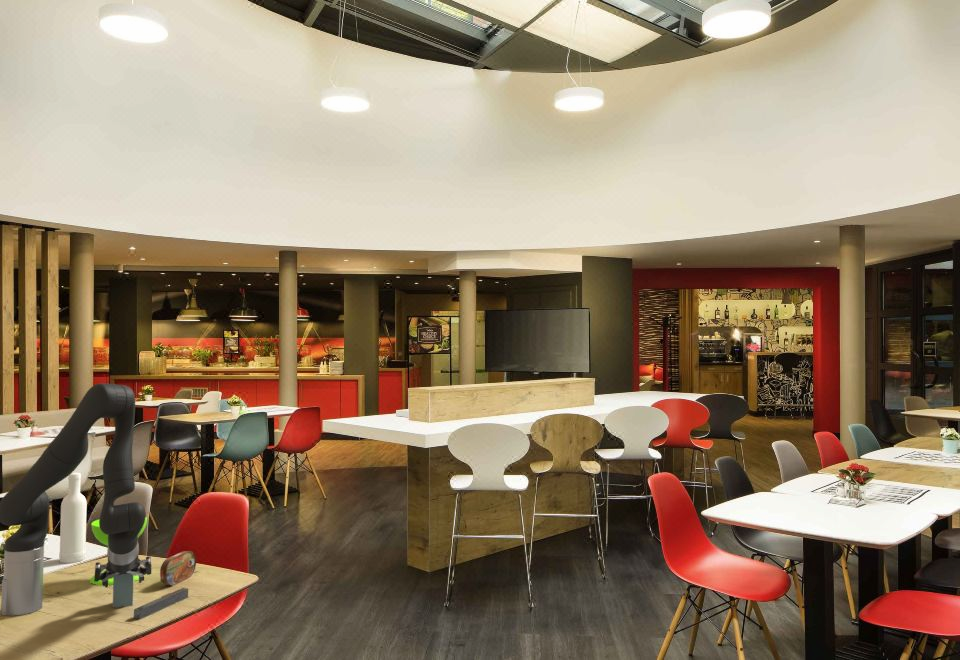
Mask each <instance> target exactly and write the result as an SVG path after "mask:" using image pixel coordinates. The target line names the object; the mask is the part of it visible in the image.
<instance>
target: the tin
mask: <svg viewBox="0 0 960 660" xmlns="http://www.w3.org/2000/svg"><path fill="white" fill-rule="evenodd" d="M196 565H197V558H196V555H195V553H194V552H193V551H191V550H188V551H186V550H185V551H181V552H179V553H176V554H175V555H172V556H170V557H168V558H166V559H164V561H163V562H162V563H161V566H160V568H159V569H160V571H159V572H160V573H159V574H160V575H159V577H160V582H161V583H162V584H163V585H164V586H173V585H174V586H176V585H177V584H178V585H179V583H181V582H183V581H185V580H187V579H189V578H190V577H192V575H193V574H194V573H195V571H196ZM174 586H173V587H174Z"/></svg>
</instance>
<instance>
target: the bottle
mask: <svg viewBox="0 0 960 660" xmlns="http://www.w3.org/2000/svg"><path fill="white" fill-rule="evenodd" d="M67 477H68V478H67V479H68V490H67V491H68V493H67V495H66V496H64V497H63V499H62V501H61V503H60V504H61V505H60V530H59V531H60V533H59V534H60V535H59V562H60V563H61V564H74V563H79V562H82V561H83V560H85V559H86V555H87V549H86V547H87V545H86V544H87V539H86V538H87V511H88V510H87V508H88V507H87V504H88V502H87V499H86V497H85V496H86V495H85V496H84V495H83V494H82V493H81V480H82V474H81V473H80V472H72V473H71V474H70V475H69V476H67Z"/></svg>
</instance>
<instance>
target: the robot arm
mask: <svg viewBox="0 0 960 660" xmlns="http://www.w3.org/2000/svg"><path fill="white" fill-rule="evenodd" d="M135 416H136V396H135V393H134V390H133V388H131V387H130V386H129V385H128V386H127V385H124V384H114V383H106V382H101V383H100V382H99V383H97V384H94V385H92V386H91V387H89V389H88V390H87V391H86V393H85V394H84V395H83V397H82V398H81V401H80V402H79V403H78V405H77V407H76V408H75V410H74V412H73V413H72V414H71V417H70V418H69V419H68V420H67V422H66V423H65V425H63V428H61V430H60V431H59V433H58V434H57V435H56V437H55V438H54V439H53V440H52V441H51V442H50V444H48V446H47V447H46V448H45V450H44V451H43V452H42V453H41V455H40V456H39V458H38V459H37V461H35V463H34V464H32V466H31V467H30V468H29V470H28V471H27V472H26V474H25V475H24V476H23V477H22V478H21V479H20V480H19V481H18V482H17V483H16V484H15V485H14V486H13V487H12V488H10V489H9V491H8V492H6V494H5V495H4V496H3V497H2V498H1V500H0V523H1V524H2V525H4V526H7V527H15V526H19V528H18V529H17V530H16V531H15V532H14V533H13V534H11V535H10V536H9V537H8V538H6V539H5V542H4V555H3V559H4V560H3V563H4V564H3V579H2V581H1V598H0V599H1V601H0V604H1V605H0V616H22V615H27V614H31V613H33V612H37V611H39V610H40V609H42V607H43V599H44V597H43V596H44V593H43V592H44V567H45V565H44V563H45V561H44V560H45V556H44V555H45V539H46V537H47V535H48V531H49V530H48V528H49V520H50V519H49V516H50V500H49V496H48V494H47V492H46V491H49V489H51V488H52V487H54V486H55V485H57V484H59V483H60V482H61V481H63V480H64V479H66V478H67V477H69V475H70V474H71V473H74V472H75V470H76V469H78V466H79V465H80V464H81V463H82V461H84V459H85V458H86V457H87V454H88V451H89V437H88V434H89V431H90V430H91V429H92V427H93V426H94V425H95V424H96V422H98V421H99V420H100V419H113V423H114V436H113V437H112V438H113V439H112V441H111V444H110V446H109V447H108V450H107V452H106V454H105V456H104V460H103V464H102V475H103V486H104V487H103V491H104V493H103V494H104V495H103V496H104V497H103V501H102V507H101V512H100V515H99V519H100V520H99V519H98V520H99V526H100V529H101V531H102V532H103V533H104V534H107V535H108V546H107V553H106V556H107V563H106V564H105V563H104V564H101V562H100V561H99V562H95V565H94V575H95V578H94V581H95V582H97V581H99V580H102V585H103V586H102V587H104V588H108V587H109V586H108V579H112V578H113V577H115V576H116V575H121V574H132V575H134V576H136V575H138V576H139V580H138V583H139V584H142V583H143V581H145V577H144V575H145V574H146V575H147V576H149V575H151V574H152V559H151V558H152V557H151V556H150V555H149V556H146V557H145V559H140V557H139V556H140V555H139V551H140V549H139V547H140V546H139V542H138V541H139V540H138V539H139V538H138V534H139V532H140V531H141V529H142V527H143V525H144V522H145V518H146V517H147V516H146V515H147V513H146V509H145V507H144V505H143V504H141V502H128V503H123V504H121V503H120V504H117V505H115V502H116V501H117V499H119V498H121V497H124V496H127V495H130V494H131V493H133V492H134V491H135V489H136V488H135V487H136V485H135V474H134V472H135V471H134V464H133V441H134V431H135V418H136V417H135ZM102 571H104V572H102Z"/></svg>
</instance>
